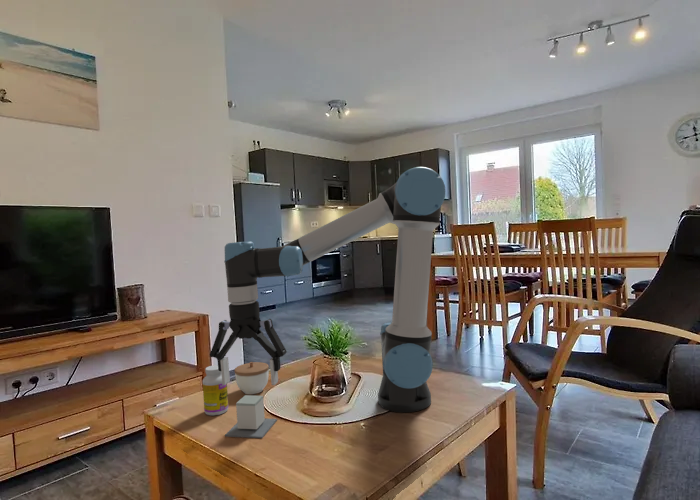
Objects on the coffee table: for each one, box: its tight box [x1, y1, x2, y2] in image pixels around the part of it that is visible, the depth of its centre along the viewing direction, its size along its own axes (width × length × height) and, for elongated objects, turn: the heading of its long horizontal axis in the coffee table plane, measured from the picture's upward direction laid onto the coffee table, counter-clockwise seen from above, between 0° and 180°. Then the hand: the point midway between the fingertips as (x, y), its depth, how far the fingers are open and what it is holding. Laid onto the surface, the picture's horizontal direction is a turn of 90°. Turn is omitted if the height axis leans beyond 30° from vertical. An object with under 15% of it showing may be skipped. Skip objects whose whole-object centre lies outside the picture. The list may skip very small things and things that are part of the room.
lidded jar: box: [234, 361, 270, 395], centre depth 139 cm, size 11×11×9 cm
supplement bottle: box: [202, 364, 229, 416], centre depth 124 cm, size 7×7×13 cm
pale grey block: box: [235, 394, 266, 429], centre depth 112 cm, size 5×5×7 cm
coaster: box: [224, 418, 278, 439], centre depth 112 cm, size 10×10×1 cm
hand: (250, 383), depth 111 cm, fingers open, 13 cm apart
